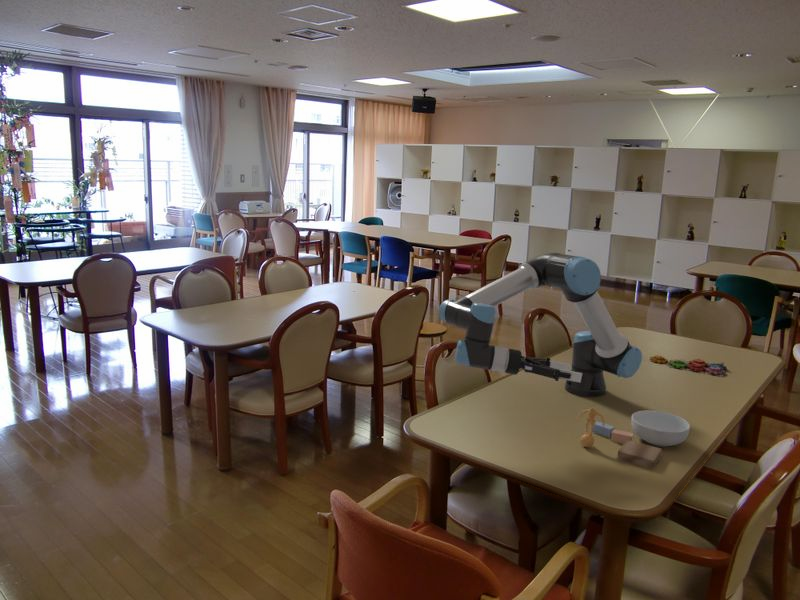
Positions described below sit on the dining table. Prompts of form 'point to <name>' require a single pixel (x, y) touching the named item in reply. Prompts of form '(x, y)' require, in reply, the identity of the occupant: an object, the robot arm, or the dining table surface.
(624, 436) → the terracotta brick
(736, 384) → the dining table surface
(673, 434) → the cereal bowl
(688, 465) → the dining table surface
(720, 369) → the gear puzzle
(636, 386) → the dining table surface
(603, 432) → the slate-blue brick
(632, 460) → the walnut plinth
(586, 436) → the figurine
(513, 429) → the dining table surface
